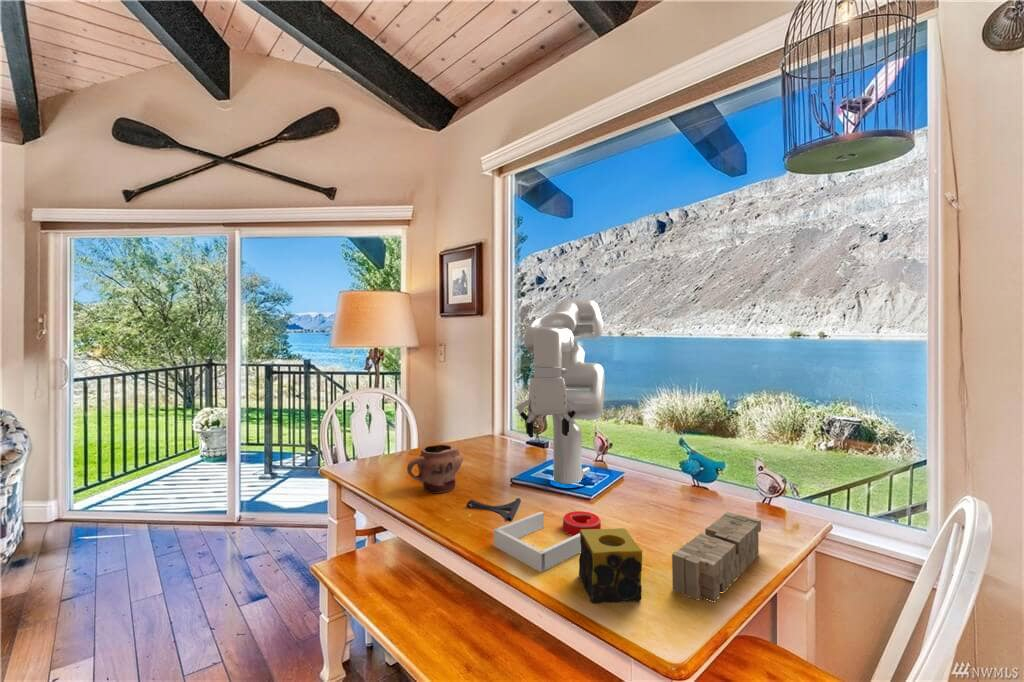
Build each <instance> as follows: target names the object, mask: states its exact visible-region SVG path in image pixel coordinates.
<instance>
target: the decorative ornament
mask: <svg viewBox="0 0 1024 682" xmlns="http://www.w3.org/2000/svg"><path fill="white" fill-rule="evenodd" d="M562 520H563V521H562V522H563V523H562V528H563V529H564V530H563V529H562V530H563V532H565V533H566V532H567V533H568V534H567V533H566V534H567V535H569V534H570V535H569V536H571V537H572V536H575V535H577V534H579V533H580V530H582V529H602V528H601V527H602V526H601V525H602V523H601V522H602V521H601V518H600V517H599V516H598V515H597V514H596V513H593V512H589V511H583V510H582V511H581V510H579V511H578V510H575V511H571V512H568V513H565V514H564V516H563V518H562Z"/></svg>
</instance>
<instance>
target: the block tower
mask: <svg viewBox="0 0 1024 682" xmlns="http://www.w3.org/2000/svg"><path fill="white" fill-rule="evenodd" d="M761 531H762V520H761V519H757V518H755V517H750V516H748V515H747V516H746V515H742V514H738V513H735V512H731V511H727V512H725V513H723V515H722V516H720V518H718V519H716V521H713V522H712V523H711V524H710V525H709V526H707V527H706V528H705V530H704V532H705V533H699V534H698V535H696V536H695V537H694V538H693V539H691V540H689V541H688V542H685V544H684V545H683V546H682V547H680V548H679V549H678V550H676V551H674V552H673V553H672V554H671V563H672V565H671V568H672V571H671V573H672V591H673V590H675V591H674V592H676V591H677V592H676V593H678V592H680V593H682V594H681V595H683V594H686V595H687V596H690V597H692V598H695V599H697V600H698V599H700V598H701V597H702V598H701V599H703V598H705V599H708V600H711V601H713V602H714V601H716V600H717V598H718V597H719V596H720V597H721V593H720V592H724V591H725V590H726V589H727V588H728V587H729V585H730V584H732V583H733V582H734V580H735V579H736V578H738V577H739V575H741V573H742V572H743V571H744V570H745V569H746V568H747V567H748V566H749V565H750V564H752V563H753V562H754V561H755V560H756V559H757V557H758V556H759V555H758V554H759V550H760V549H759V545H760V544H759V533H760V532H761ZM757 555H758V556H757ZM756 556H757V557H756ZM754 559H755V560H754ZM753 560H754V561H753ZM752 561H753V562H752ZM751 562H752V563H751ZM750 566H751V565H750ZM750 566H749V567H750ZM749 567H748V568H749ZM748 568H747V569H748ZM747 569H746V570H747ZM746 570H745V571H746ZM745 571H744V572H745ZM744 572H743V573H744ZM743 573H742V574H743ZM741 576H742V575H741ZM739 578H740V577H739ZM739 578H738V579H739ZM736 580H737V579H736ZM734 583H735V582H734ZM734 583H733V584H734ZM733 584H732V585H733ZM729 588H730V587H729ZM725 592H726V591H725ZM725 592H724V593H725ZM680 593H679V594H680ZM686 595H685V596H686ZM687 596H686V597H687ZM690 597H689V598H690ZM692 598H691V599H692ZM695 599H694V600H695ZM701 599H700V600H701ZM705 599H704V600H705ZM697 600H696V601H697ZM708 600H707V601H708ZM717 601H718V600H717ZM717 601H716V602H717Z"/></svg>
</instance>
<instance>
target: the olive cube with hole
mask: <svg viewBox="0 0 1024 682" xmlns="http://www.w3.org/2000/svg"><path fill="white" fill-rule="evenodd" d="M580 543H581V553H579V560H578V564H579V565H578V577H580V578H579V579H580V580H581V584H582V583H583V584H582V585H583V588H584V590H585V592H586V594H587V593H588V594H587V596H588V595H589V596H588V597H589V601H590V602H591V603H593V604H603V603H602V602H608V603H609V602H615V603H628V602H641V600H642V591H643V590H642V589H643V588H642V568H643V550H642V549H641V547H640V545H638V544H637V543H636V542H635V540H634V539H633V538H632V536H631V535H630V534H629V531H627V529H626V528H625V527H624V528H622V527H621V528H601V529H582V530H580ZM621 601H622V602H621ZM623 601H625V602H623ZM597 602H598V603H597ZM599 602H601V603H599Z"/></svg>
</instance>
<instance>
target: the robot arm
mask: <svg viewBox="0 0 1024 682" xmlns="http://www.w3.org/2000/svg"><path fill="white" fill-rule="evenodd" d="M603 332H604V320H603V317H602V313H601V309H600V306H599V304H598V303H597V302H596V301H594V300H592V299H569V300H564V301H561V302H560V303H559V304H558V305H557V307H556V308H555V310H554V311H553V312H552V313H550V314H547V315H545V316H542V317H539V318H536V319H534V320H532V321H531V323H530V324H529V325H528V326H527V328H526V330H525V332H524V336H523V345H524V348H525V349H526V350H527V352H529V353H532V354H533V377H531V378H530V380H529V386H528V387H529V388H528V398H527V399H526V400H523V402H520V403H519V404H517V405H516V408H515V409H516V410H517V412H518V414H519V417H521V418H522V419H523V420H524V421H525V422H526V424H525V430H526V431H525V432H526V434H527V435H528V436H529V438H534V422H532V421H533V420H534V418H535V417H536V416H551V417H552V426H553V429H552V431H553V433H552V434H553V441H552V442H553V452H552V453H553V454H552V455H553V476H554V480H555V481H556V482H559V483H563V484H571V483H579V482H581V480H582V478H584V475H585V474H588V473H590V472H591V469H590V467H588V466H587V467H582V466H583V465H582V464H583V463H582V461H583V458H582V457H583V454H582V450H583V449H582V448H583V447H582V445H583V440H582V439H583V437H582V436H583V434H582V429H581V427H580V425H579V424H578V422H577V421H576V420H591V421H594V420H599V419H600V418H601V417H602V415H603V413H604V403H605V383H606V378H605V377H606V375H605V370H604V367H603V366H602V365H601V364H599V363H597V362H585V357H586V354H585V353H586V352H585V350H584V348H583V347H582V346H581V345H580V344H579V343H578V342H577V341H576V340H575V339H597V338H599V337H601V336H602V334H603ZM526 407H527V411H528V413H527V414H526V412H525V411H524V409H525V408H526Z"/></svg>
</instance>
